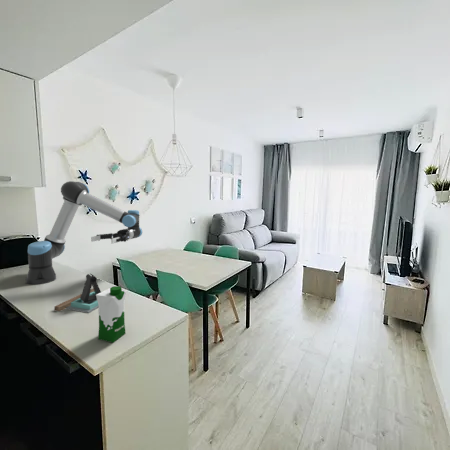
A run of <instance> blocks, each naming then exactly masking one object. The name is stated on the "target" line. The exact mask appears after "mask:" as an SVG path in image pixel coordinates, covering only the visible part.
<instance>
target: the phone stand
mask: <svg viewBox="0 0 450 450" xmlns="http://www.w3.org/2000/svg"><path fill="white" fill-rule="evenodd" d="M85 280H86V281H85V283H84V285H83V288H82V291H81V293H80V294H81V297H80V299H81V300H82V301H83V302H88V301H92V300H96V299H97V297H96V294H99V293H101V292H102V291H101V289H100V287H99V285H98V281H97V277H96V276H95V275H94V274H92V273H87V274H86V275H85ZM91 289H94V292H95V295H91V296H89V294H90V290H91Z"/></svg>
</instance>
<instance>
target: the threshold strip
mask: <svg viewBox="0 0 450 450" xmlns="http://www.w3.org/2000/svg"><path fill="white" fill-rule="evenodd" d="M91 292H94V289H93V288H91V290H90V293H91ZM81 294H82V293H80V294H79V295H76V296H73V297H71V298H70V299H67V300H65V301H63V302H61V303H58V304H57V305H55V306H54V311H56V312H61V311H64V310H67V309H66V307H68V306H70V305H71V302H73V301H75V300H77V299H79V298H80V297H81Z"/></svg>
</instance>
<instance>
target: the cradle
mask: <svg viewBox="0 0 450 450" xmlns="http://www.w3.org/2000/svg"><path fill="white" fill-rule="evenodd" d="M91 295H95V292H91V293H90V294H89V296H91ZM97 309H99V305H98V301H97V299H96V300H92V301H88V302H83V301H82V300H81V299H80V298H79V299H77V300H75V301H73V302H71V305H70V306H68V307H66V309H65V310H70V311H76V312H82V313H87V314H90V313H91V312H93V311H95V310H97Z"/></svg>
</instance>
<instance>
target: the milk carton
mask: <svg viewBox="0 0 450 450" xmlns="http://www.w3.org/2000/svg"><path fill="white" fill-rule="evenodd" d="M126 295H127V290H125V289H122V286H118V285H117V286H116V285H115V286H112V287H109V288H107V289H105V290H103V291H101V293H99V294H96V297H97V301H98V305H99V308H98V336H97V339H98V340H101V341H104V342H109V343H113V344H114V343H115V342H117V341H118V340H119V339H120V338H122V337H123V336H124V335H126V326H125V325H126V323H125V300H126Z"/></svg>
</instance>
